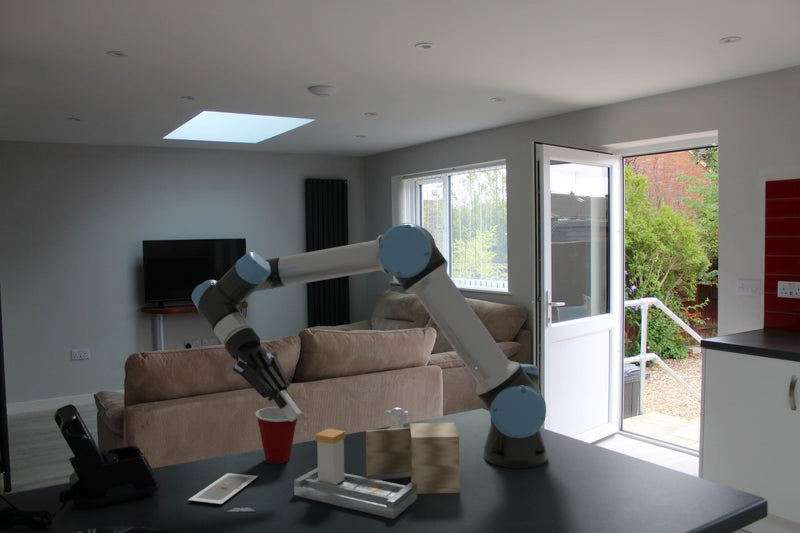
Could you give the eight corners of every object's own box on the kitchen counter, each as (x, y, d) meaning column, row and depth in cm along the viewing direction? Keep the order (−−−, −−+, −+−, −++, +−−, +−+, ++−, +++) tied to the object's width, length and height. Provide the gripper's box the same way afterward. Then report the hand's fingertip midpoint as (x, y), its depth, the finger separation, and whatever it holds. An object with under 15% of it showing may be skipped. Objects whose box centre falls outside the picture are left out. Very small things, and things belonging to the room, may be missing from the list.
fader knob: (316, 483, 127) (315, 434, 126) (328, 475, 131) (327, 428, 130) (333, 486, 124) (333, 437, 124) (346, 479, 128) (345, 431, 128)
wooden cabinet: (454, 474, 137) (453, 422, 136) (459, 492, 126) (459, 436, 126) (367, 475, 136) (366, 423, 136) (365, 494, 126) (364, 438, 125)
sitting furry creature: (381, 464, 144) (380, 414, 143) (374, 452, 152) (373, 405, 152) (419, 460, 146) (418, 411, 145) (410, 448, 154) (409, 402, 154)
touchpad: (188, 505, 123) (187, 494, 123) (227, 477, 138) (227, 468, 137) (221, 509, 121) (221, 498, 121) (258, 480, 135) (258, 471, 135)
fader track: (294, 495, 126) (294, 480, 126) (322, 478, 135) (322, 464, 135) (393, 518, 115) (393, 502, 114) (417, 499, 123) (417, 483, 123)
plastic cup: (291, 469, 141) (290, 418, 140) (248, 466, 143) (247, 416, 143) (307, 453, 152) (306, 406, 151) (267, 451, 154) (266, 404, 153)
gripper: (249, 343, 146) (305, 419, 139) (208, 352, 135) (267, 435, 127) (265, 322, 143) (323, 399, 136) (225, 329, 132) (286, 414, 124)
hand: (296, 417), depth 131 cm, fingers closed
